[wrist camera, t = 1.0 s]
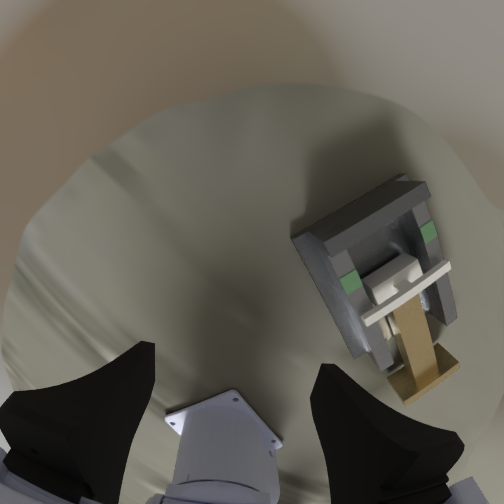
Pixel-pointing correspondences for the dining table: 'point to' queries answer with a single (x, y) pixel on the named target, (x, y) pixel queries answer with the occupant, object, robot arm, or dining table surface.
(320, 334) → the dining table surface
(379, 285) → the pointer
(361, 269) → the gauge frame
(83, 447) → the robot arm
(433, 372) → the wooden t-shaped block
